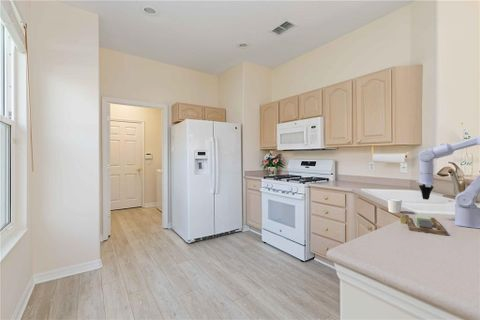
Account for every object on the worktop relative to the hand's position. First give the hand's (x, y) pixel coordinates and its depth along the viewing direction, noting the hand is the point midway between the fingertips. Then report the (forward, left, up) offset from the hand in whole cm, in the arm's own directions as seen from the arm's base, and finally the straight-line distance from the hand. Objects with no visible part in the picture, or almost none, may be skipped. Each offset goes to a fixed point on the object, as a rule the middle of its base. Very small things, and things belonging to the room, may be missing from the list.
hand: (425, 199), depth 117 cm
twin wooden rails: (+3, +15, -10) cm, 18 cm away
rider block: (+3, +15, -10) cm, 19 cm away
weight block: (+3, +24, -10) cm, 26 cm away
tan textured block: (+10, +15, -10) cm, 21 cm away
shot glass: (+13, -7, -10) cm, 18 cm away
